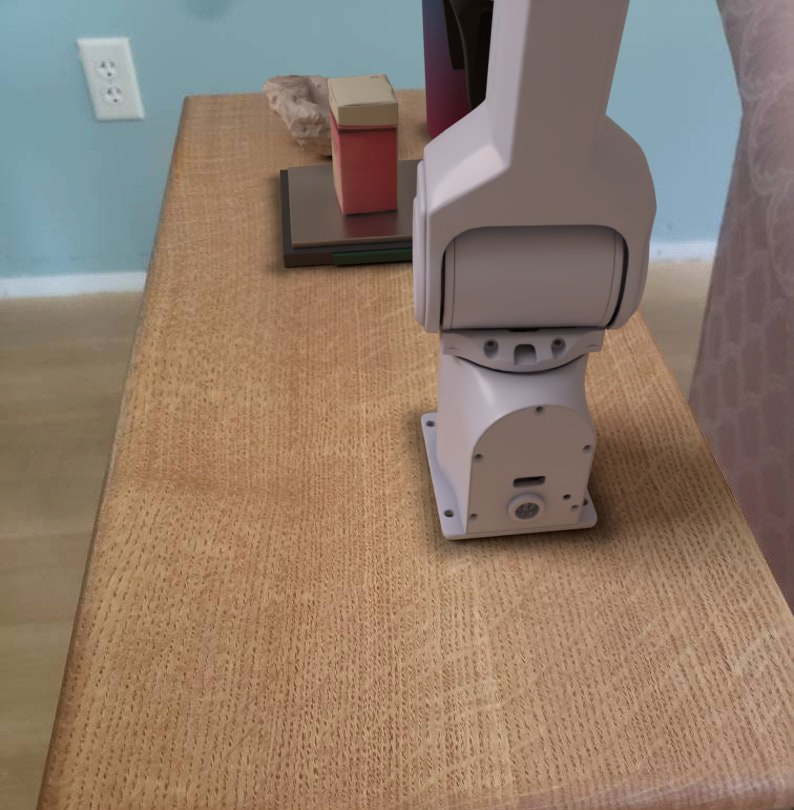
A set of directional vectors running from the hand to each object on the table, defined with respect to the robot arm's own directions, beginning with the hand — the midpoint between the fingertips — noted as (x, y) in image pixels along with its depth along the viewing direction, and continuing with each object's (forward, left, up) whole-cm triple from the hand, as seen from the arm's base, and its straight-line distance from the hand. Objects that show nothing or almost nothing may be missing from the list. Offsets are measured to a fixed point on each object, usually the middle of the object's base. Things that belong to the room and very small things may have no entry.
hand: (476, 90), depth 56 cm
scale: (+4, +7, -10) cm, 13 cm away
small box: (+4, +7, -9) cm, 12 cm away
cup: (+18, -2, -10) cm, 21 cm away
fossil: (+18, +10, -11) cm, 23 cm away
